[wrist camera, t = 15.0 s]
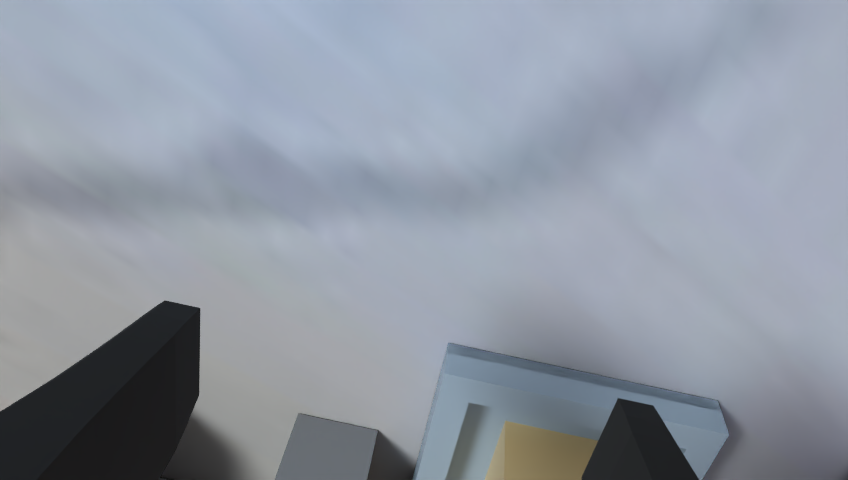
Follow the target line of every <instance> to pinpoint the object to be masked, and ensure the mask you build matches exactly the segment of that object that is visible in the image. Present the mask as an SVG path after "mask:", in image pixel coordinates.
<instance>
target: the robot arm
mask: <svg viewBox="0 0 848 480" xmlns="http://www.w3.org/2000/svg"><path fill="white" fill-rule="evenodd" d="M199 361H200V308H197V307H192V306H188V305H183V304H178V303H174V302H169V301H164V302H162V303H160V304H159V305H157V306H156V307H154V308H153V309H152V310H150V311H149V312H147V313H146V314H145V315H143V316H142V317H140V318H139V319H138V320H136V321H135V322H134V323H132V324H131V325H130V326H128V327H127V328H125V329H124V330H123V331H121V332H120V333H119V334H117V335H116V336H114V337H113V338H112V339H110V340H109V341H107V342H106V343H105V344H103V345H102V346H100V347H99V348H98V349H96V350H95V351H93V352H92V353H90V354H89V355H87V356H86V357H84V358H83V359H82V360H80V361H79V362H77V363H76V364H74V365H73V366H71V367H70V368H68V369H67V370H65V371H64V372H62V373H61V374H60V375H58V376H56V377H55V378H53V379H52V380H50V381H49V382H47V383H46V384H44V385H42V386H41V387H39V388H38V389H36V390H34V391H33V392H31V393H30V394H28V395H26V396H25V397H23V398H21V399H20V400H18V401H17V402H15V403H13V404H12V405H10V406H9V407H7V408H5V409H4V410H2V411H0V480H159V478H160V476H161V475H162V473H163V471H164V469H165V468H166V466H167V464H168V462H169V461H170V459H171V457H172V455H173V453H174V452H175V450H176V448H177V446H178V443H179V441H180V439H181V437H182V434H183V432H184V430H185V427H186V425H187V423H188V420H189V418H190V416H191V413H192V411H193V408H194V406H195V403H196V401H197V399H198V396H199ZM582 480H699V479H698V477H697V475H696V474H695V472H694V471H693V469H692V467H691V466H690V464H689V462H688V461H687V459H686V458H685V456H684V454H683V453H682V451H681V449H680V448H679V446H678V445H677V443H676V441H675V440H674V438H673V436H672V435H671V433H670V432H669V430H668V428H667V427H666V425H665V423H664V422H663V420H662V418H661V417H660V415H659V414H658V412H657V410H656V409H655V407H654V406H653V405H649V404H644V403H639V402H635V401H630V400H625V399H621V398H618V399H617V401H616V403H615V406H614V408H613V410H612V412H611V414H610V416H609V419H608V421H607V423H606V425H605V427H604V429H603V432H602V434H601V436H600V438H599V440H598V442H597V445H596V447H595V449H594V451H593V453H592V455H591V458H590V460H589V462H588V464H587V466H586V468H585V471H584V473H583V475H582Z"/></svg>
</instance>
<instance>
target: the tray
mask: <svg viewBox="0 0 848 480" xmlns="http://www.w3.org/2000/svg"><path fill="white" fill-rule="evenodd" d="M618 398H621V399H625V400H630V401H635V402H639V403H644V404H649V405H653V406H654V407H655V409H656V410H657V412H658V414H659V415H660V417H661V418H662V420H663V422H664V423H665V425H666V427H667V428H668V430H669V432H670V433H671V435H672V436H673V438H674V440H675V441H676V443H677V445H678V446H679V448H680V449H681V451H682V453H683V454H684V456H685V458H686V459H687V461H688V462H689V464H690V466H691V467H692V469H693V471H694V472H695V474H696V475H697V477H698V479H699V480H702V479H703V477H704V476H705V474H706V472H707V471H708V469H709V467H710V466H711V464H712V462H713V461H714V459H715V457H716V456H717V454H718V452H719V451H720V449H721V447H722V446H723V444H724V442H725V441H726V439H727V437H728V436H729V433H728V430H727V427H726V424H725V421H724V418H723V415H722V412H721V409H720V406H719V403H718V401H716V400H712V399H707V398H702V397H698V396H693V395H688V394H684V393H679V392H675V391H670V390H665V389H661V388H656V387H651V386H647V385H642V384H637V383H633V382H628V381H623V380H619V379H614V378H609V377H605V376H600V375H595V374H591V373H586V372H581V371H577V370H572V369H567V368H563V367H558V366H553V365H549V364H544V363H540V362H535V361H530V360H526V359H521V358H516V357H512V356H507V355H502V354H498V353H493V352H488V351H484V350H479V349H474V348H470V347H465V346H460V345H456V344H451V343H448V346H447V350H446V354H445V358H444V361H443V365H442V369H441V373H440V377H439V380H438V384H437V388H436V392H435V395H434V399H433V403H432V407H431V411H430V414H429V418H428V422H427V426H426V429H425V433H424V437H423V441H422V445H421V448H420V452H419V456H418V460H417V463H416V467H415V471H414V475H413V479H412V480H485V477H486V474H487V471H488V468H489V466H490V463H491V460H492V457H493V454H494V451H495V448H496V446H497V443H498V440H499V437H500V434H501V431H502V428H503V425H504V423H505V421H509V422H514V423H518V424H523V425H528V426H532V427H537V428H542V429H546V430H551V431H556V432H560V433H565V434H570V435H574V436H579V437H584V438H588V439H593V440H599V438H600V436H601V434H602V432H603V429H604V427H605V425H606V423H607V421H608V419H609V416H610V414H611V412H612V410H613V408H614V406H615V403H616V401H617V399H618Z"/></svg>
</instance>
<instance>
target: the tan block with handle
mask: <svg viewBox="0 0 848 480" xmlns="http://www.w3.org/2000/svg"><path fill="white" fill-rule="evenodd" d="M597 442H598V440H593V439H588V438H584V437H579V436H574V435H570V434H565V433H560V432H556V431H551V430H546V429H542V428H537V427H532V426H528V425H523V424H518V423H514V422H509V421H505V423H504V425H503V428H502V431H501V434H500V437H499V440H498V443H497V446H496V448H495V451H494V454H493V457H492V460H491V463H490V466H489V468H488V471H487V474H486V477H485V480H582V475H583V473H584V471H585V468H586V466H587V464H588V462H589V460H590V458H591V455H592V453H593V451H594V449H595V447H596V445H597Z"/></svg>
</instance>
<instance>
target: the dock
mask: <svg viewBox="0 0 848 480" xmlns="http://www.w3.org/2000/svg"><path fill="white" fill-rule="evenodd" d="M377 432H378V430H373V429H368V428H364V427H359V426H354V425H350V424H345V423H340V422H336V421H331V420H326V419H322V418H317V417H312V416H308V415H303V414H298V416H297V419H296V422H295V424H294V427H293V430H292V433H291V436H290V438H289V441H288V444H287V447H286V450H285V452H284V455H283V458H282V461H281V464H280V466H279V469H278V472H277V475H276V478H275V480H367V479H368V474H369V469H370V465H371V460H372V455H373V450H374V446H375V441H376V436H377ZM159 480H168V479H163V478H159Z"/></svg>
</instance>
